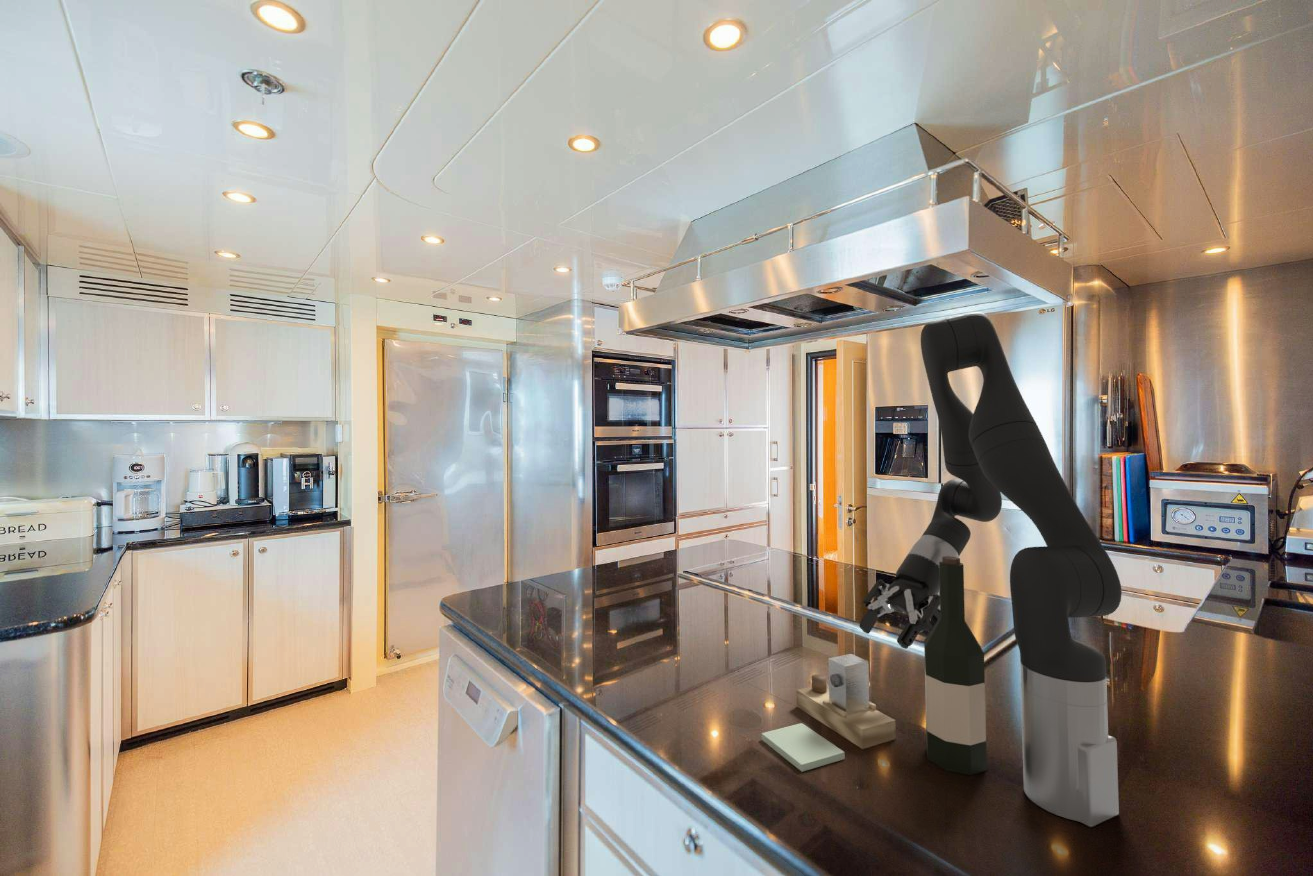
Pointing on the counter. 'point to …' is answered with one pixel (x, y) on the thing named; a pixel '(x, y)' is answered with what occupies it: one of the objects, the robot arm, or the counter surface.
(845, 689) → the grey upright block
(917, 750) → the counter surface
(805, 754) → the pad
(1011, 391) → the robot arm
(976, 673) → the wine bottle
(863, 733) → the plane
